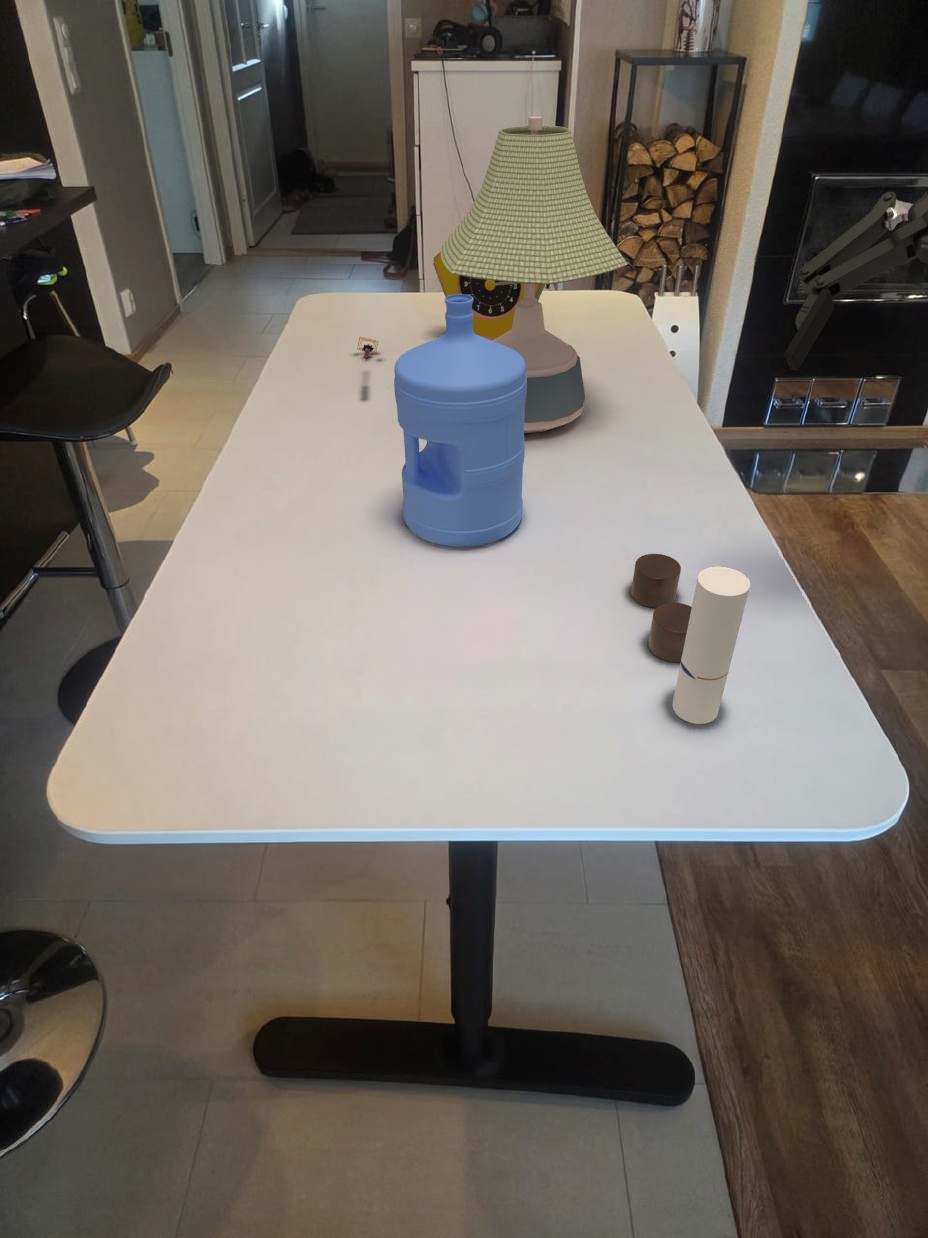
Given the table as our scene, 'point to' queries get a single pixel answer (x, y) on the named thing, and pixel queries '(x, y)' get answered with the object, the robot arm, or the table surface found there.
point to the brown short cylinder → (655, 580)
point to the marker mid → (669, 631)
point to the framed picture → (367, 347)
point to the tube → (710, 643)
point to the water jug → (462, 433)
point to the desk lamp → (535, 254)
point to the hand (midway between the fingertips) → (864, 382)
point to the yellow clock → (485, 299)
